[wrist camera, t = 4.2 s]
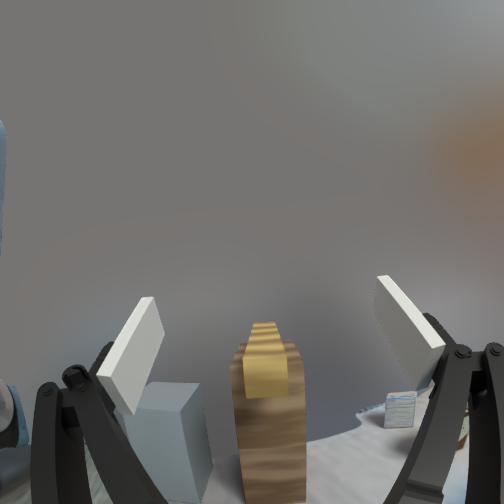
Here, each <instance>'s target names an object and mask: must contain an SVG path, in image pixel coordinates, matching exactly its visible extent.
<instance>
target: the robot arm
mask: <svg viewBox="0 0 504 504" xmlns="http://www.w3.org/2000/svg"><path fill="white" fill-rule="evenodd" d="M5 167H6V133H5V128H4V125H3V123H2V122H1V120H0V252H1V239H2V207H3V200H4V183H5ZM372 316H373V318H374V320H375V321H376V323H377V325H378V326H379V328H380V330H381V331H382V333H383V335H384V336H385V338H386V340H387V341H388V343H389V345H390V347H391V348H392V350H393V352H394V354H395V355H396V357H397V359H398V361H399V362H400V364H401V366H402V368H403V369H404V372H405V373H406V375H407V377H408V379H409V381H410V382H411V384H412V386H413V388H414V390H415V391H418V390H421V389H424V388H427V387H428V386H429V384H430V382H431V380H432V379H433V381H434V383H435V386H434V388H433V390H432V392H431V394H430V396H429V399H430V400H429V403H428V406H427V409H426V412H425V415H424V418H423V421H422V423H421V426H420V429H419V431H418V434H417V436H416V439H415V441H414V444H413V446H412V448H411V450H410V453H409V455H408V457H407V459H406V462H405V464H404V466H403V468H402V470H401V472H400V474H399V476H398V478H397V480H396V482H395V483H394V485H393V487H392V489H391V491H390V493H389V494H388V496H387V498H386V500H385V501H384V503H383V504H442V501H443V497H444V495H443V494H442V489H443V486H444V484H445V481H446V478H447V476H448V473H449V470H450V467H451V464H452V461H453V458H454V455H455V451H456V448H457V445H458V441H459V437H460V433H461V429H462V425H463V421H464V417H465V412H466V407H467V402H468V412H469V469H468V482H467V491H466V499H465V504H504V347H503V346H502V345H500V344H498V343H494V342H493V343H489V344H487V346H486V348H485V350H484V351H482V352H481V351H480V352H472V350H471V349H470V348H469V347H467V346H465V345H461V344H456V343H455V341H454V340H453V339H452V338H451V337H450V335H449V334H448V333H447V332H446V331H445V329H443V327H442V326H441V325H440V324H439V322H438V321H437V320H436V319H435V317H433V316H431V315H430V314H428V313H424V314H421V313H420V311H419V310H418V309H417V308H416V307H415V306H414V304H413V303H412V302H411V301H410V300H409V298H408V297H407V296H406V295H405V294H404V293H403V292H402V290H401V289H400V288H399V287H398V286H397V285H396V284H395V283H394V282H393V280H392V279H391V278H390V277H389V276H388V275H386V276H378V277H377V279H376V288H375V297H374V304H373V311H372ZM164 335H165V332H164V329H163V327H162V323H161V320H160V317H159V314H158V310H157V307H156V304H155V300H154V297H142V299H141V300H140V302H139V303H138V305H137V306H136V308H135V310H134V311H133V313H132V314H131V316H130V318H129V319H128V321H127V323H126V324H125V326H124V327H123V329H122V331H121V332H120V334H119V336H118V338H117V339H116V341H115V342H109V343H108V344H107V345H105V346H104V347H103V349H102V350H101V352H100V354H99V356H98V357H97V359H96V361H95V362H94V364H93V365H92V367H91V369H90V371H89V372H87V370H86V369H85V367H84V366H82V365H73V366H70V367H69V368H67V369H66V370H65V371H64V372H63V375H62V380H63V382H64V383H65V385H66V386H67V388H64V389H59V388H58V386H57V385H56V383H54V382H47V383H44V384H43V385H42V386H41V387H40V388H39V389H38V392H37V397H36V403H35V411H34V419H33V430H32V443H31V497H32V504H92V499H91V494H90V488H89V482H88V476H87V468H86V460H85V451H84V439H83V435H84V438H85V441H86V444H87V446H88V449H89V452H90V454H91V457H92V459H93V461H94V464H95V466H96V468H97V471H98V473H99V475H100V477H101V480H102V482H103V484H104V486H105V488H106V490H107V492H108V494H109V496H110V498H111V500H112V502H113V504H168V502H167V501H166V500H165V498H164V497H163V496H162V494H161V493H160V491H159V490H158V488H157V487H156V485H155V484H154V483H153V481H152V480H151V478H150V476H149V475H148V473H147V472H146V470H145V469H144V467H143V465H142V464H141V462H140V460H139V459H138V457H137V455H136V454H135V452H134V450H133V448H132V447H131V445H130V443H129V441H128V439H127V437H126V436H125V434H124V432H123V430H122V428H121V426H120V424H119V422H118V420H117V418H116V416H115V414H114V413H113V411H114V409H115V407H116V408H117V409H118V411H119V412H120V414H126V415H133V416H134V414H135V411H136V408H137V406H138V403H139V400H140V397H141V395H142V392H143V389H144V386H145V384H146V381H147V378H148V376H149V373H150V371H151V368H152V365H153V363H154V360H155V357H156V355H157V352H158V350H159V347H160V345H161V342H162V340H163V337H164ZM28 443H29V435H28V430H27V427H26V421H25V417H24V413H23V409H22V405H21V401H20V397H19V394H18V391H17V389H16V387H15V386H13V385H8V384H5V383H4V382H3V381H2V380H1V379H0V448H6V447H14V448H18V447H20V446H25V445H27V444H28Z"/></svg>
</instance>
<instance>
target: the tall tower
mask: <svg viewBox="0 0 504 504" xmlns="http://www.w3.org/2000/svg"><path fill="white" fill-rule="evenodd" d="M247 344H248V343H242V344H240V346H239V348H238V350H237V352H236V355H235V357H234V359H233V361H232V363H231V366H230V377H231V387H232V397H233V405H234V415H235V424H236V431H237V441H238V448H239V457H240V464H241V472H242V479H243V486H244V493H245V500H246V504H293V503H302V502H306V412H305V411H306V410H305V381H304V362H303V360H302V358H301V356H300V355H299V353H298V351H297V349H296V347H295V346H294V344H293V342H292V340H283V341H282V344H283V347H284V350H285V353H286V356H287V371H288V388H289V395H288V396H277V397H263V398H246V393H245V382H244V371H243V356H244V353H245V350H246V347H247Z"/></svg>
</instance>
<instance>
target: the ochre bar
mask: <svg viewBox="0 0 504 504" xmlns="http://www.w3.org/2000/svg"><path fill="white" fill-rule="evenodd" d="M243 371H244V382H245V393H246V398H263V397H277V396H288V395H289V388H288V371H287V356H286V353H285V350H284V347H283V344H282V341H281V338H280V335H279V333H278V330H277V327H276V324H275V322H274V321H272V322H259V323H254V325H253V328H252V331H251V335H250V338H249V341H248V344H247V347H246V350H245V353H244V356H243Z"/></svg>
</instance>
